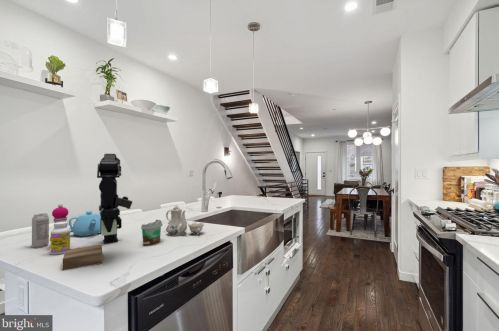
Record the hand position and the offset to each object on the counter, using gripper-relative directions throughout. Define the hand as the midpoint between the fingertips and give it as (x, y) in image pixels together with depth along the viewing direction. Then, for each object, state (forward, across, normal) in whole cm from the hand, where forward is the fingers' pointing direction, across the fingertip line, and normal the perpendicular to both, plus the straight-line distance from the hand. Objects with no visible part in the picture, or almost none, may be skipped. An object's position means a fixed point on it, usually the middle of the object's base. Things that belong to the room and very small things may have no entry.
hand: (108, 230), depth 97 cm
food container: (+11, +11, -20) cm, 25 cm away
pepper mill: (+11, +29, +18) cm, 35 cm away
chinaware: (+11, +22, -36) cm, 44 cm away
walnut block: (+11, +1, +8) cm, 14 cm away
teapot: (+11, +47, +6) cm, 49 cm away
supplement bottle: (+11, +20, +17) cm, 28 cm away
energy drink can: (+11, +36, +25) cm, 45 cm away
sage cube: (+1, 0, 0) cm, 1 cm away
